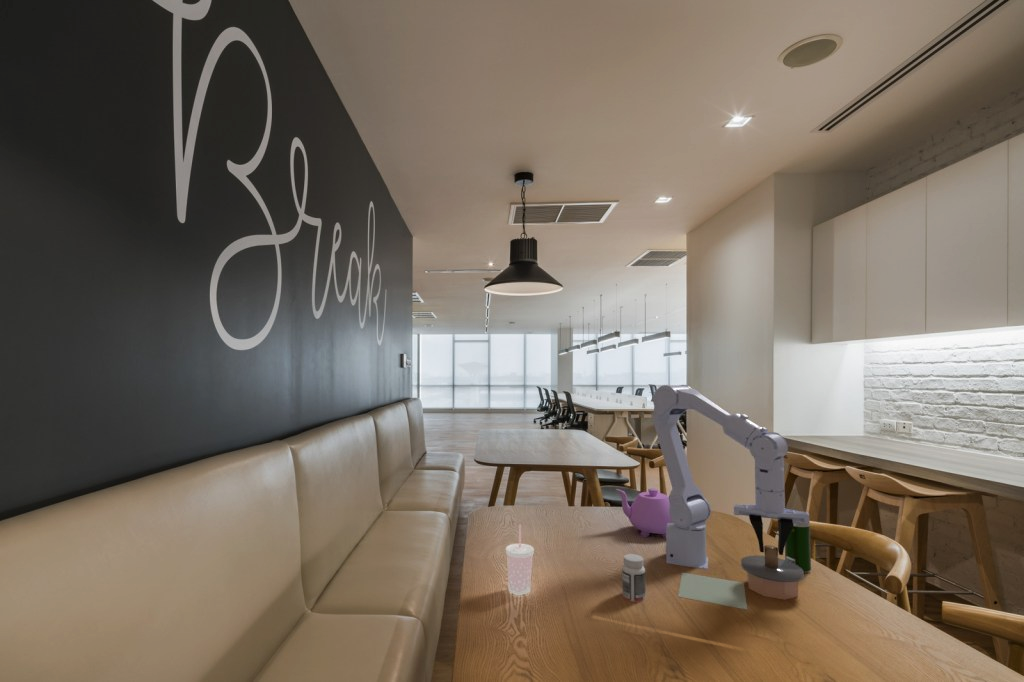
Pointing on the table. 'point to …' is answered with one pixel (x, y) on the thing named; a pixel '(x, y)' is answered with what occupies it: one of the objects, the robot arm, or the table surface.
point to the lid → (772, 566)
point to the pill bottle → (633, 578)
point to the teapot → (648, 512)
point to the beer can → (799, 546)
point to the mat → (713, 590)
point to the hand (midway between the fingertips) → (771, 552)
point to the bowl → (772, 587)
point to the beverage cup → (519, 566)
